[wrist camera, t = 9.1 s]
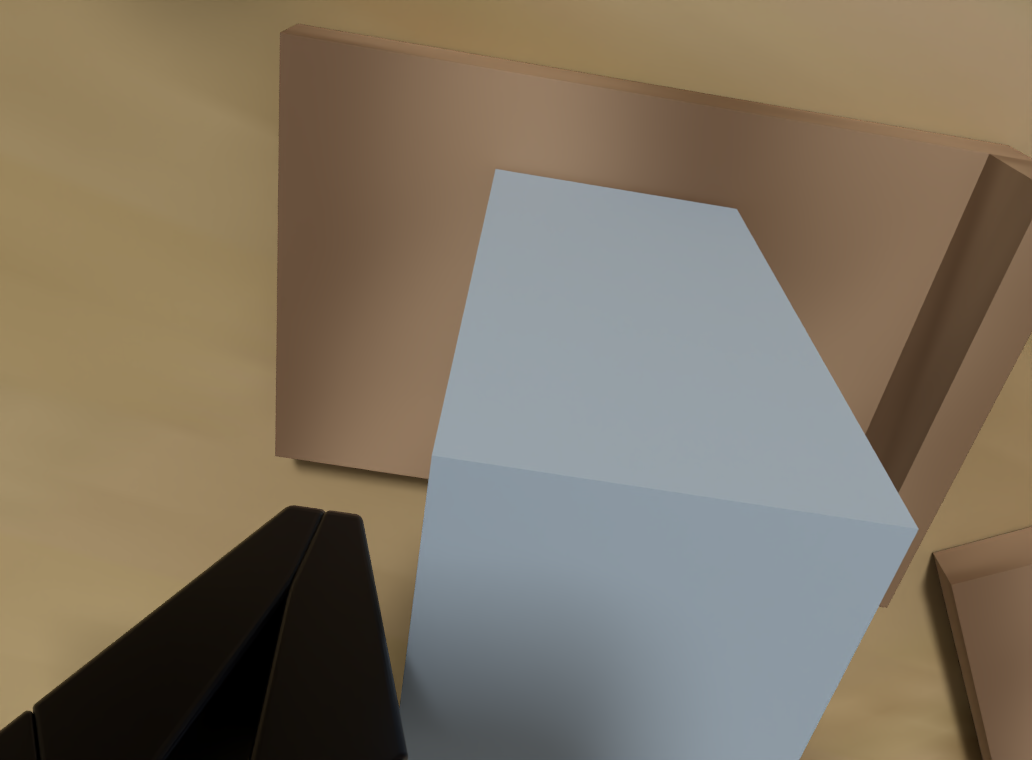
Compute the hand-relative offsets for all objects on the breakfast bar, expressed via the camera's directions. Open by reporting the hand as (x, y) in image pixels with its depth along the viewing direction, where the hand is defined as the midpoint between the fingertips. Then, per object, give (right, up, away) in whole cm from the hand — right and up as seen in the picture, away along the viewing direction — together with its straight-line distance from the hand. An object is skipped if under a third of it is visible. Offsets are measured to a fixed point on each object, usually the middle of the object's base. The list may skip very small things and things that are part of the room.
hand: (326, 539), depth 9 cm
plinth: (+4, +3, +7) cm, 8 cm away
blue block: (+3, +3, +6) cm, 7 cm away
